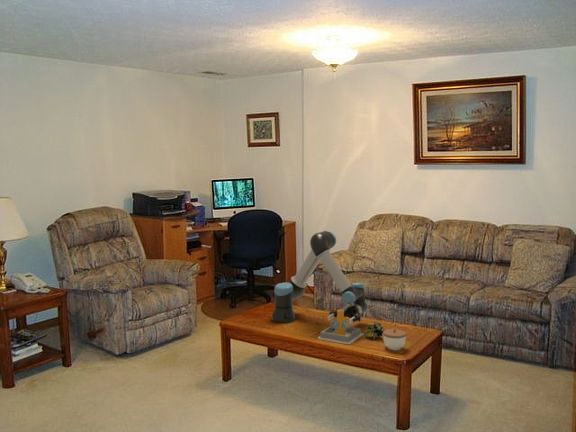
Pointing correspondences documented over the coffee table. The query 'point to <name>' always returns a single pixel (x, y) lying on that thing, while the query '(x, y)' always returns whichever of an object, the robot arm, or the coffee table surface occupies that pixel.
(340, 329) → the orange tube
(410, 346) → the coffee table surface
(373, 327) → the passion flower
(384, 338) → the lidded bowl
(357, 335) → the holder tray
